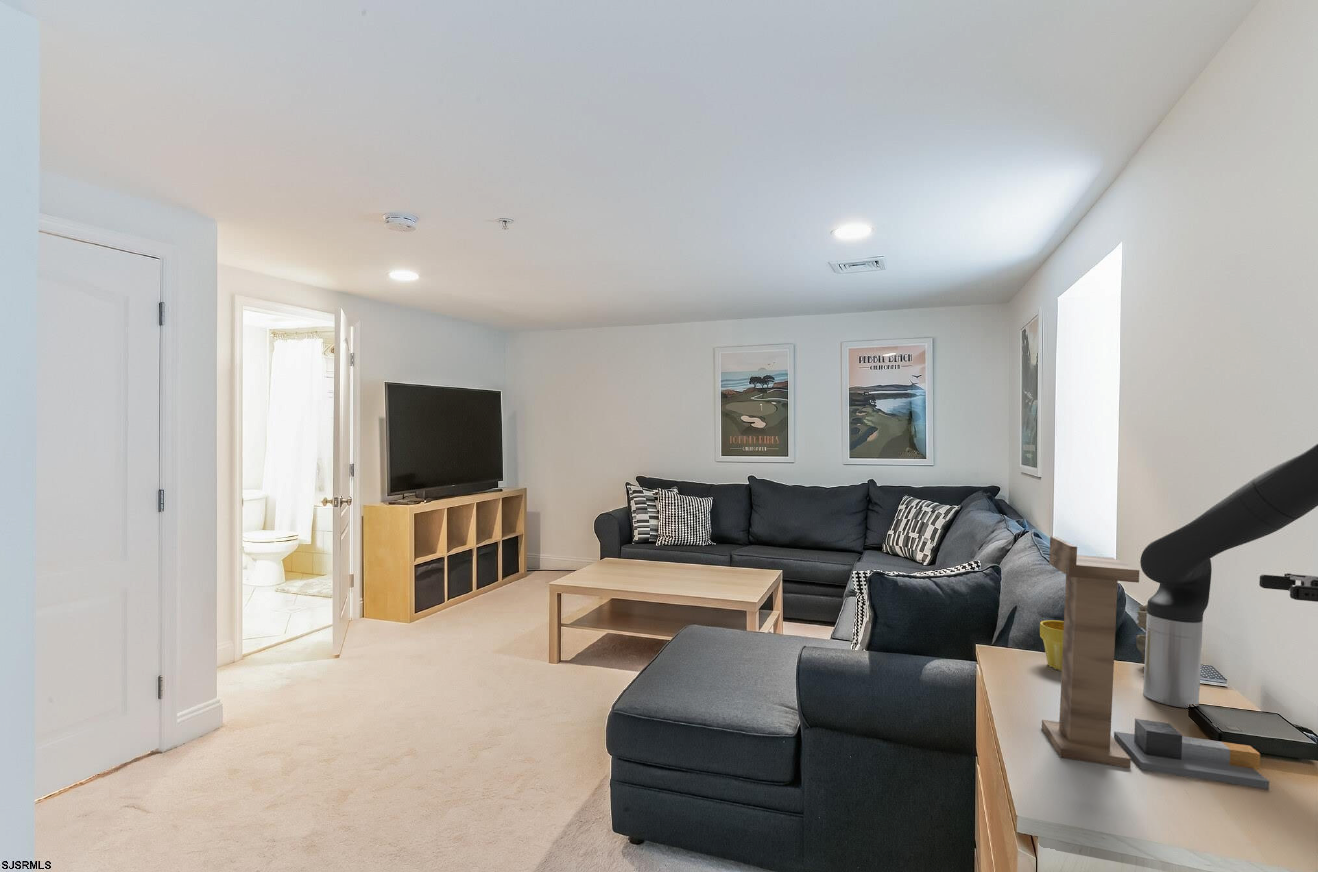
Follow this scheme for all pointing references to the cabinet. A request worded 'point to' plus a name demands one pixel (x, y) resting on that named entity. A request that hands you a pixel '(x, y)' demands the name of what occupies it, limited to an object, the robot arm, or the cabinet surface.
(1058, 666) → the plant pot
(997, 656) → the cabinet surface
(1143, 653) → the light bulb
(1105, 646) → the walnut stand
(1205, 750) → the grey block hammer
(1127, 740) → the rubber mat
